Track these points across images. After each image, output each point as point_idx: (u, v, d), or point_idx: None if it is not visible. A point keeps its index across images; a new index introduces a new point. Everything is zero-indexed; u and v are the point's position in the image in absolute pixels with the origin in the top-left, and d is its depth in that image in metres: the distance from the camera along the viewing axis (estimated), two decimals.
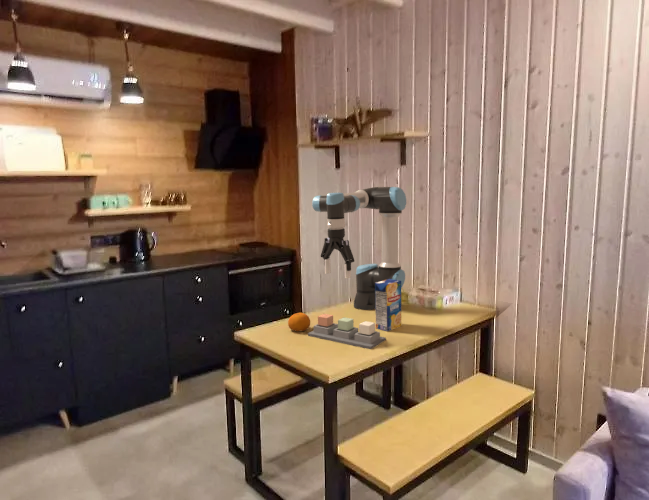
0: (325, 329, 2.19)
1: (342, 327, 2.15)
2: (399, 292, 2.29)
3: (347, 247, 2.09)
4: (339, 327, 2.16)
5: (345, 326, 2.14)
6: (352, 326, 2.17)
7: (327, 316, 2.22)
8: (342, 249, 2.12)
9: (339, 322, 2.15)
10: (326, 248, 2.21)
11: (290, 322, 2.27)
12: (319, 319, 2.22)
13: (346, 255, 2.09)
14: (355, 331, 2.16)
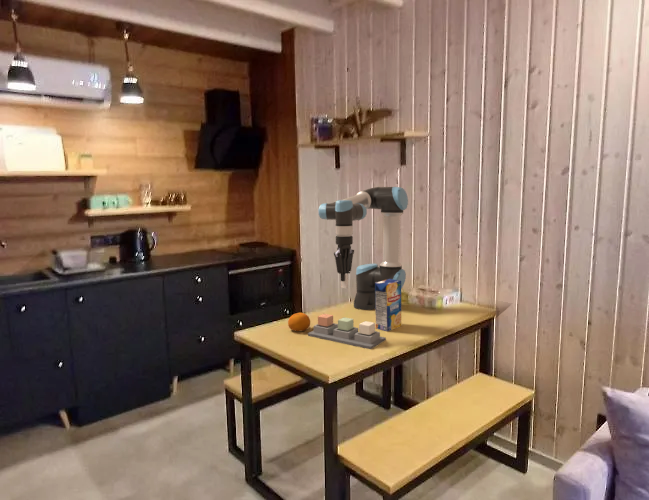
0: (325, 329, 2.19)
1: (342, 327, 2.15)
2: (399, 292, 2.29)
3: (337, 259, 2.12)
4: (339, 327, 2.16)
5: (345, 326, 2.14)
6: (352, 326, 2.17)
7: (327, 316, 2.22)
8: (341, 258, 2.15)
9: (339, 322, 2.15)
10: None
11: (290, 322, 2.27)
12: (319, 319, 2.22)
13: None
14: (355, 331, 2.16)
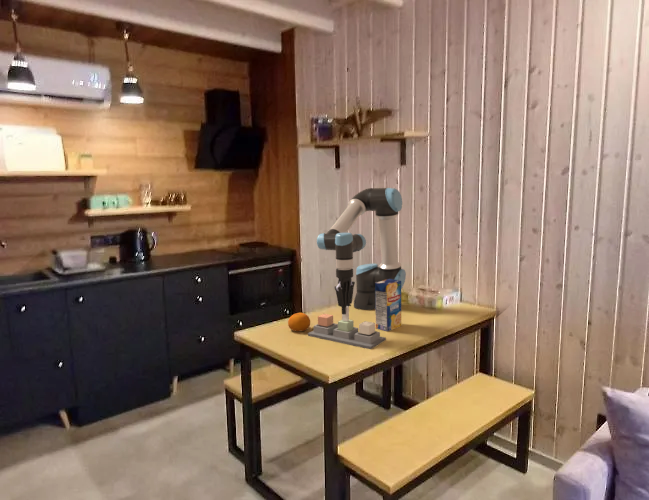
0: (325, 329, 2.19)
1: (342, 329, 2.15)
2: (399, 292, 2.29)
3: (338, 293, 2.10)
4: (339, 328, 2.16)
5: (345, 327, 2.14)
6: (352, 327, 2.17)
7: (327, 316, 2.22)
8: (342, 292, 2.13)
9: (339, 323, 2.16)
10: None
11: (290, 322, 2.27)
12: (319, 319, 2.22)
13: None
14: (355, 331, 2.16)
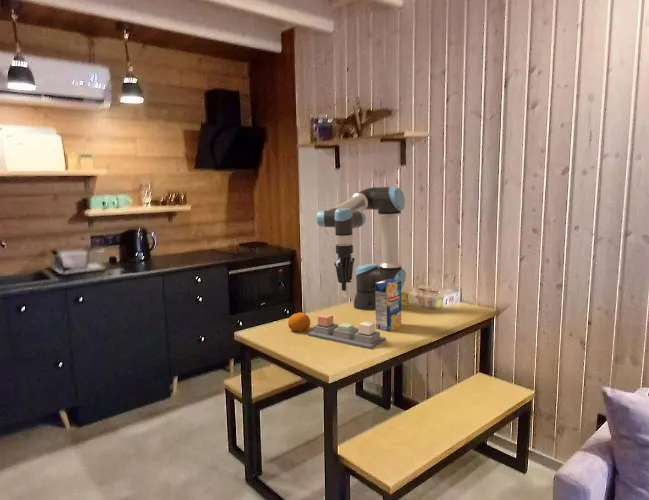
0: (325, 329, 2.19)
1: None
2: (399, 292, 2.29)
3: (338, 269, 2.09)
4: None
5: None
6: None
7: (327, 316, 2.22)
8: (341, 268, 2.12)
9: (339, 328, 2.16)
10: (349, 268, 2.17)
11: (290, 322, 2.27)
12: (319, 319, 2.22)
13: None
14: (355, 331, 2.16)
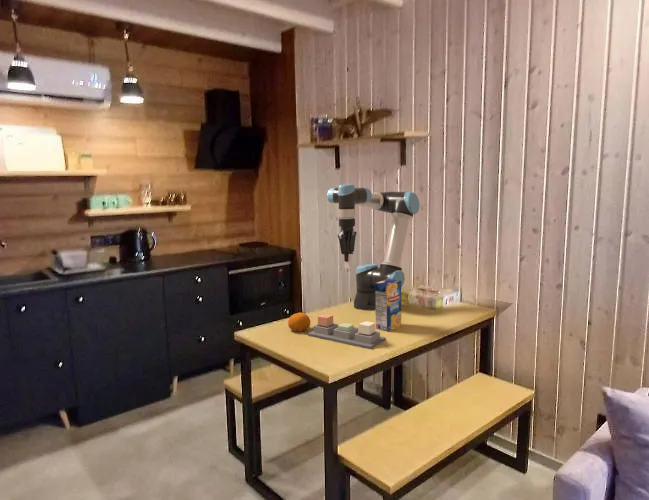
0: (325, 329, 2.19)
1: None
2: (399, 292, 2.29)
3: (341, 240, 2.24)
4: None
5: None
6: None
7: (327, 316, 2.22)
8: (344, 240, 2.26)
9: (339, 328, 2.16)
10: None
11: (290, 322, 2.27)
12: (319, 319, 2.22)
13: None
14: (355, 331, 2.16)
